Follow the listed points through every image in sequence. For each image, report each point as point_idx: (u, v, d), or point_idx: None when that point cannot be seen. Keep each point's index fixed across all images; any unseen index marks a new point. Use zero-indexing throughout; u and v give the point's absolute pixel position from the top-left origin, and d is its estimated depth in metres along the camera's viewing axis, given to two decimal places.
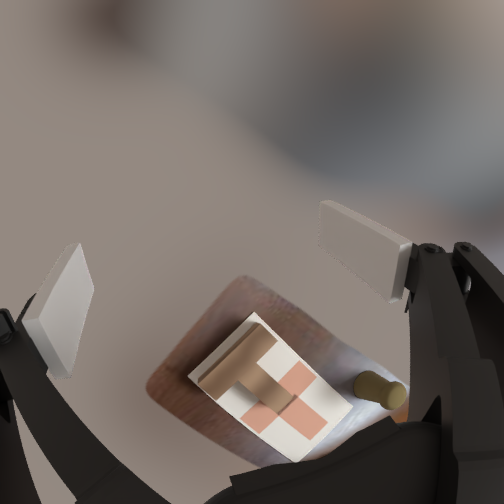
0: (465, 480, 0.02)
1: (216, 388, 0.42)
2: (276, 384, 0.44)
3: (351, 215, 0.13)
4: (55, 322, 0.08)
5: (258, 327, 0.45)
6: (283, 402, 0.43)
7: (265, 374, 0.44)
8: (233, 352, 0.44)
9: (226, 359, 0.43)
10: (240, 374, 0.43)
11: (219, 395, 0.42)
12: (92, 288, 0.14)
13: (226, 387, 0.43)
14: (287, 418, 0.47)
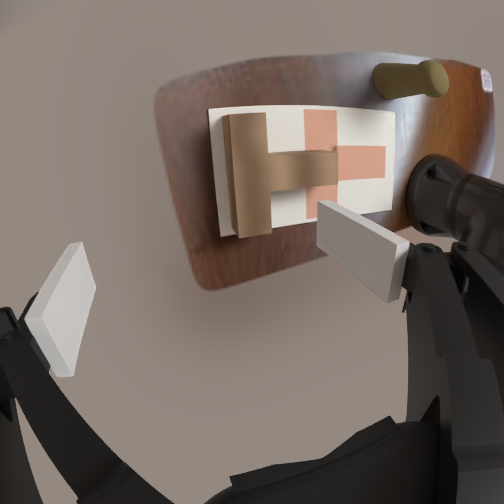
0: (465, 480, 0.02)
1: (259, 222, 0.34)
2: (310, 156, 0.32)
3: (349, 215, 0.14)
4: (58, 320, 0.08)
5: (231, 120, 0.28)
6: (333, 167, 0.34)
7: (289, 157, 0.32)
8: (235, 171, 0.31)
9: (237, 185, 0.31)
10: (266, 183, 0.32)
11: (269, 224, 0.34)
12: (94, 287, 0.14)
13: (267, 210, 0.33)
14: (347, 175, 0.39)
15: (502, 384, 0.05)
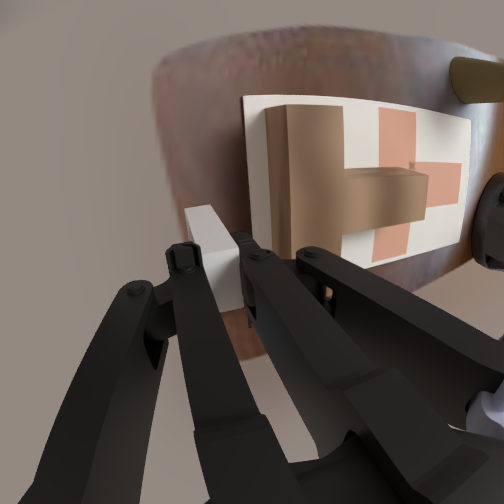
0: (465, 480, 0.02)
1: None
2: (397, 180, 0.20)
3: (208, 220, 0.14)
4: None
5: (289, 115, 0.16)
6: (422, 196, 0.21)
7: (372, 181, 0.19)
8: (293, 203, 0.18)
9: (294, 226, 0.19)
10: (337, 222, 0.20)
11: None
12: None
13: None
14: None
15: (427, 393, 0.06)
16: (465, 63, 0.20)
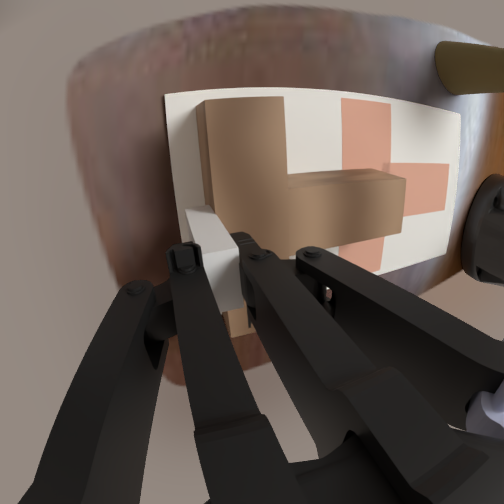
0: (465, 480, 0.02)
1: None
2: (363, 186, 0.17)
3: (208, 220, 0.14)
4: None
5: (209, 113, 0.13)
6: (398, 205, 0.18)
7: (328, 190, 0.16)
8: None
9: None
10: (282, 242, 0.17)
11: None
12: None
13: None
14: None
15: (427, 393, 0.06)
16: (453, 47, 0.17)
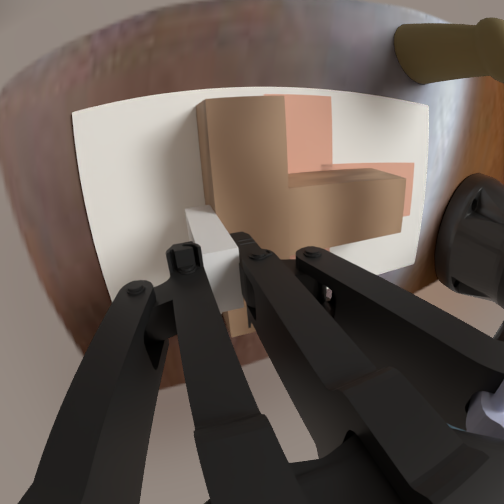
0: (465, 480, 0.02)
1: None
2: (363, 186, 0.17)
3: (208, 220, 0.14)
4: None
5: (210, 112, 0.13)
6: (397, 204, 0.18)
7: (328, 189, 0.16)
8: (221, 221, 0.15)
9: None
10: (282, 241, 0.17)
11: None
12: None
13: None
14: None
15: (427, 393, 0.06)
16: (414, 29, 0.15)
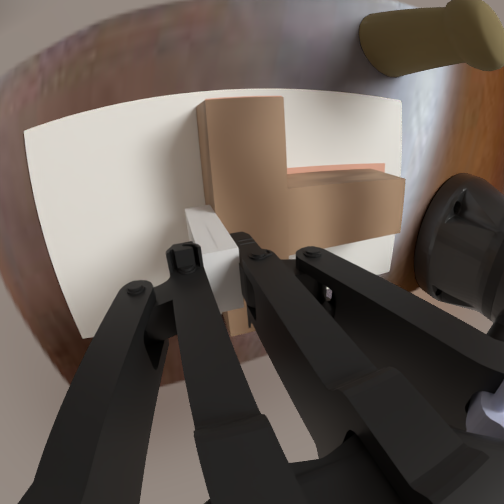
0: (465, 480, 0.02)
1: None
2: (362, 186, 0.17)
3: (208, 220, 0.14)
4: None
5: (210, 113, 0.13)
6: (397, 205, 0.18)
7: (327, 189, 0.16)
8: None
9: None
10: (281, 241, 0.17)
11: None
12: None
13: None
14: None
15: (427, 393, 0.06)
16: (380, 17, 0.14)
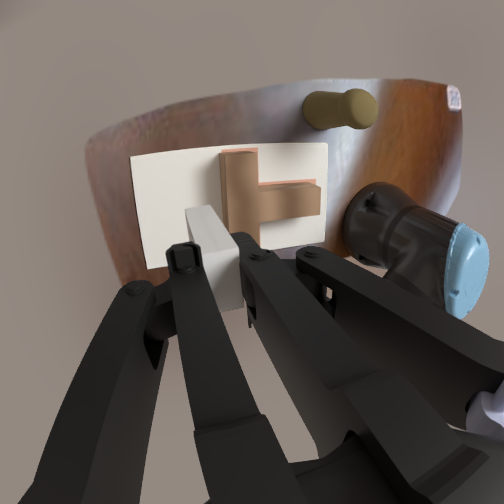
0: (465, 480, 0.02)
1: None
2: (295, 191, 0.38)
3: (208, 220, 0.14)
4: None
5: (226, 160, 0.34)
6: (316, 200, 0.39)
7: (276, 192, 0.37)
8: (229, 204, 0.36)
9: (230, 216, 0.37)
10: (255, 215, 0.38)
11: None
12: None
13: (256, 237, 0.39)
14: None
15: (427, 393, 0.06)
16: (313, 98, 0.36)
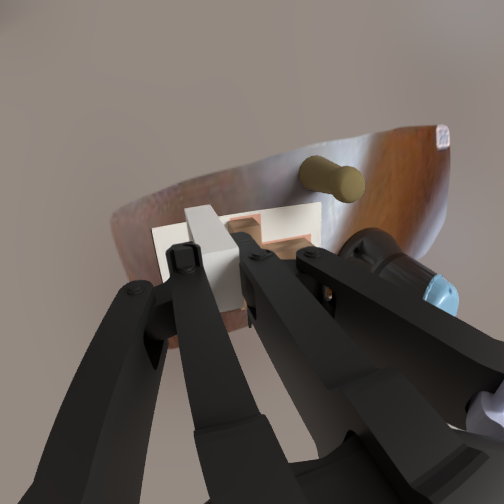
0: (465, 480, 0.02)
1: None
2: (293, 251, 0.46)
3: (208, 220, 0.14)
4: None
5: None
6: None
7: (277, 254, 0.46)
8: None
9: None
10: None
11: None
12: None
13: None
14: None
15: (427, 393, 0.06)
16: (309, 166, 0.44)
